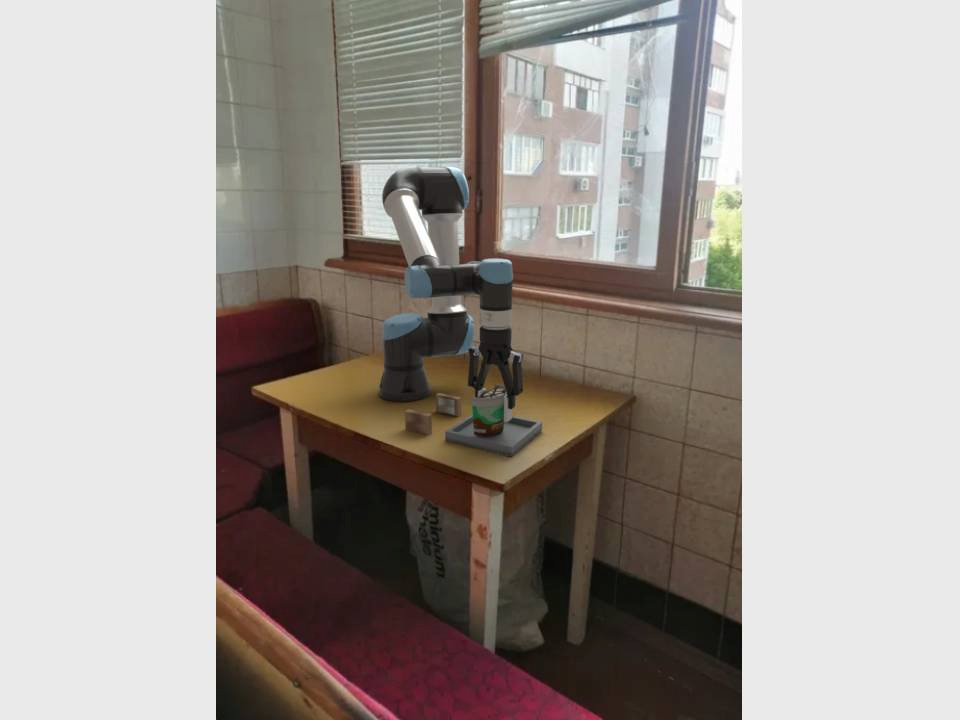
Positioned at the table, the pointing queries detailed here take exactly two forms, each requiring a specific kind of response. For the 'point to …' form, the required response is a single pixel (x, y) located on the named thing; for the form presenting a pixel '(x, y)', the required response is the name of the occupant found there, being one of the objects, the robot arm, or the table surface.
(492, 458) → the table surface
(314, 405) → the table surface
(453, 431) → the tray
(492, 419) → the food container
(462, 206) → the robot arm
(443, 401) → the brown rectangular blocks
